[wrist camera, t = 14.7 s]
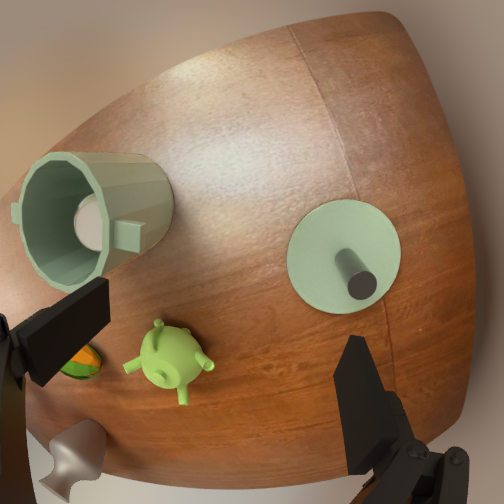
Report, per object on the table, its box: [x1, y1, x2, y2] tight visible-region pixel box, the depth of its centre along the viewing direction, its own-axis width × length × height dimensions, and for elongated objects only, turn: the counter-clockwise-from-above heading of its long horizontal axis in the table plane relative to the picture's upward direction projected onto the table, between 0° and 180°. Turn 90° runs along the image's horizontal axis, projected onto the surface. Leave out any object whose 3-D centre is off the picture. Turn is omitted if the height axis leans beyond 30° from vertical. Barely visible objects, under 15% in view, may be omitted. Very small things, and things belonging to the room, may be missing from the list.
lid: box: [287, 199, 401, 314], centre depth 29 cm, size 15×15×9 cm
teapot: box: [123, 319, 215, 405], centre depth 36 cm, size 11×12×8 cm
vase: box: [39, 419, 107, 503], centre depth 41 cm, size 14×14×25 cm
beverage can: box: [74, 193, 102, 252], centre depth 29 cm, size 6×7×12 cm
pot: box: [11, 152, 174, 294], centre depth 28 cm, size 14×19×14 cm
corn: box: [59, 344, 102, 380], centre depth 41 cm, size 7×8×20 cm
